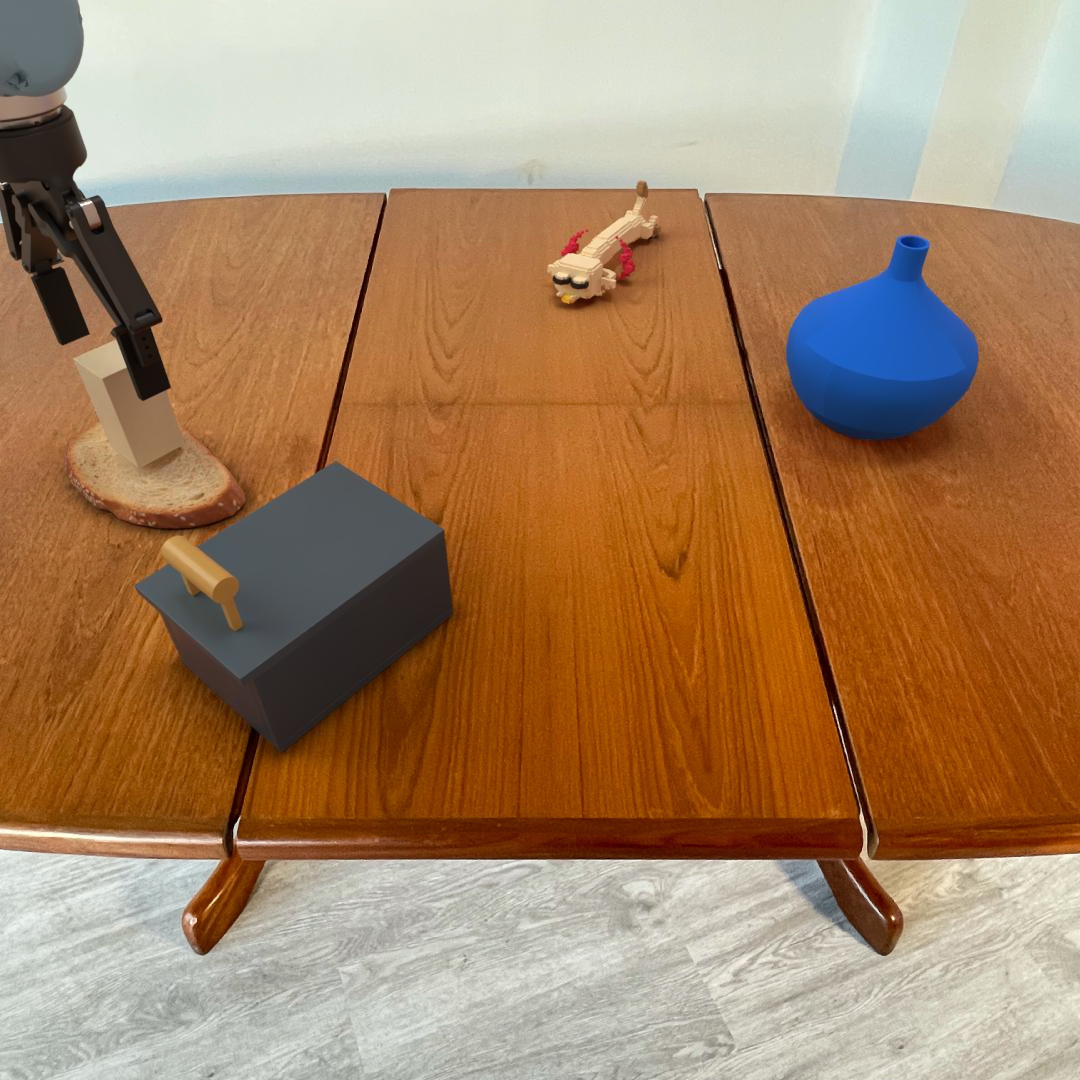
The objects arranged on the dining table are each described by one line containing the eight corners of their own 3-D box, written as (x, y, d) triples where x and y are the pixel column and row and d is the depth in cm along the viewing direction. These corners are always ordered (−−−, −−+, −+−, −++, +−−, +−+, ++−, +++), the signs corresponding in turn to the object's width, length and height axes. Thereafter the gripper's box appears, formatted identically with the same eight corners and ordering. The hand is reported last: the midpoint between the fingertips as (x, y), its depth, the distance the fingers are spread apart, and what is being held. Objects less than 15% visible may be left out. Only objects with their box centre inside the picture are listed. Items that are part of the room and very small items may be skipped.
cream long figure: (609, 233, 128) (528, 295, 111) (614, 171, 123) (530, 226, 105) (672, 247, 125) (600, 313, 108) (681, 184, 119) (606, 243, 102)
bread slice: (243, 523, 82) (233, 493, 79) (40, 545, 80) (23, 514, 77) (257, 411, 95) (249, 382, 92) (83, 427, 93) (70, 398, 90)
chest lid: (243, 687, 57) (220, 629, 53) (137, 593, 63) (109, 534, 59) (445, 537, 67) (438, 478, 63) (337, 468, 74) (325, 411, 69)
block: (139, 468, 82) (101, 378, 75) (111, 447, 85) (72, 358, 78) (185, 444, 85) (153, 354, 78) (157, 423, 87) (123, 335, 81)
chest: (281, 753, 64) (253, 679, 58) (182, 662, 70) (147, 586, 64) (453, 614, 74) (445, 537, 68) (353, 544, 80) (337, 468, 74)
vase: (763, 446, 90) (801, 272, 77) (784, 354, 102) (820, 191, 89) (952, 482, 86) (1027, 305, 72) (950, 381, 98) (1013, 214, 85)
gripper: (156, 137, 60) (231, 398, 74) (-12, 66, 72) (81, 303, 86) (50, 169, 56) (151, 439, 70) (-110, 88, 67) (5, 333, 82)
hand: (113, 365), depth 78 cm, fingers open, 13 cm apart
